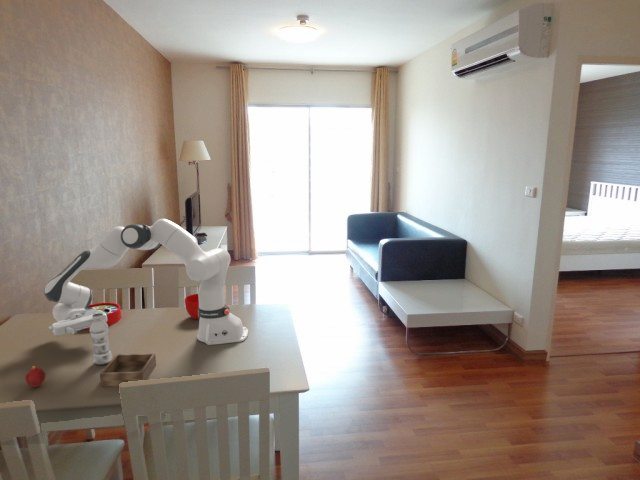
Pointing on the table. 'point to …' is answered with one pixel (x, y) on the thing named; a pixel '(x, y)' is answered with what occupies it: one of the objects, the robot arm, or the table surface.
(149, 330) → the table surface
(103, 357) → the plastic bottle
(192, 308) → the ceramic cup
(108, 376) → the box
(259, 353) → the table surface
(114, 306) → the toy clock
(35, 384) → the red pomegranate
